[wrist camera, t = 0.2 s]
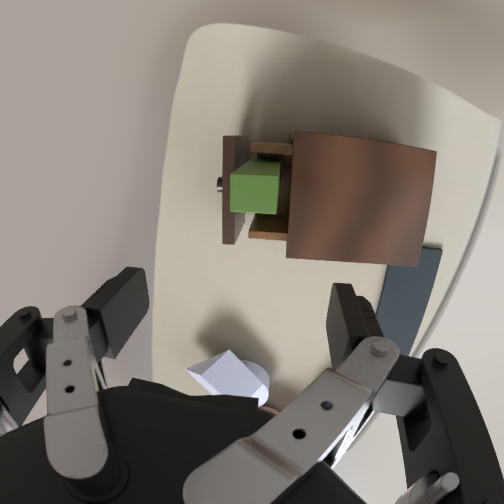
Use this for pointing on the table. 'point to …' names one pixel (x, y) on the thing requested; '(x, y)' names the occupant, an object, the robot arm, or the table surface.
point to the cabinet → (358, 199)
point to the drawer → (262, 223)
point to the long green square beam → (256, 186)
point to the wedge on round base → (232, 377)
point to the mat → (407, 298)
